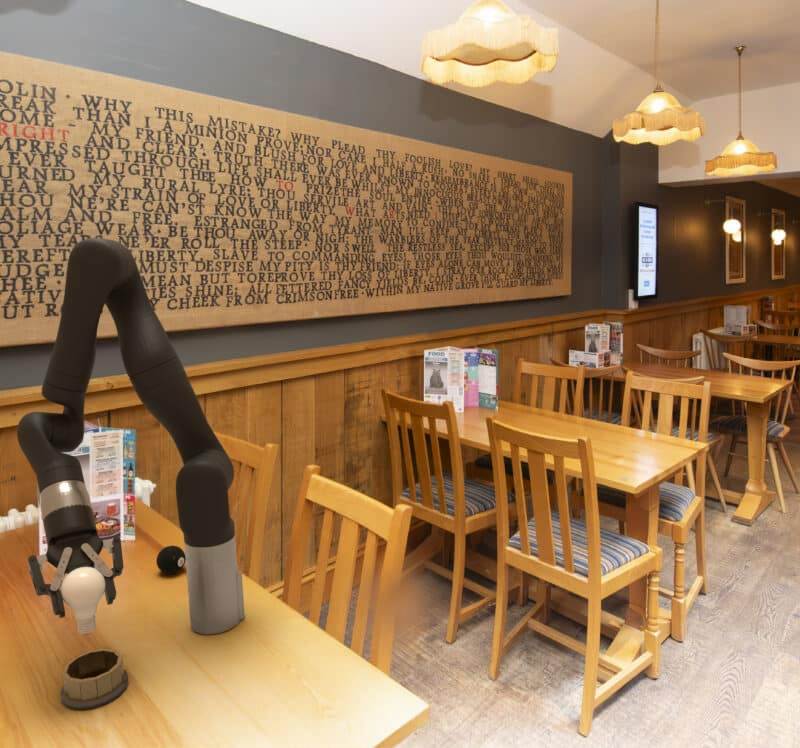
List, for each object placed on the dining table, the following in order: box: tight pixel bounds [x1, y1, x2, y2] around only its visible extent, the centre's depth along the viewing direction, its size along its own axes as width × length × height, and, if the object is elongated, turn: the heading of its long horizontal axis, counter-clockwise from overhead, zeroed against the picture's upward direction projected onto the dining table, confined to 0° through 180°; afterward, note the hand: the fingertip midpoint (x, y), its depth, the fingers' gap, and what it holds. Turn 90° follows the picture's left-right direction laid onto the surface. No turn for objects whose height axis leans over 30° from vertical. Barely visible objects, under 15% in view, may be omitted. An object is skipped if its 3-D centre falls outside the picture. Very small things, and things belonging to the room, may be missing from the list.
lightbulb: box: [60, 567, 105, 635], centre depth 104 cm, size 6×6×11 cm
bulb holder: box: [59, 648, 130, 711], centre depth 106 cm, size 10×10×4 cm
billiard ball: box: [156, 545, 186, 575], centre depth 146 cm, size 6×6×6 cm
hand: (87, 608), depth 103 cm, fingers closed on lightbulb, 6 cm apart
